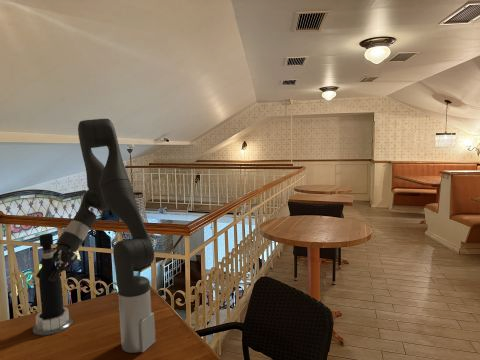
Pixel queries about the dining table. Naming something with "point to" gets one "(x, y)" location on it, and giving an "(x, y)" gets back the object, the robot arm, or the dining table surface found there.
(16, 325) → the dining table surface
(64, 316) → the bottle collar
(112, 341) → the dining table surface
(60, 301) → the black bottle
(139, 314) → the robot arm
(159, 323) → the dining table surface
